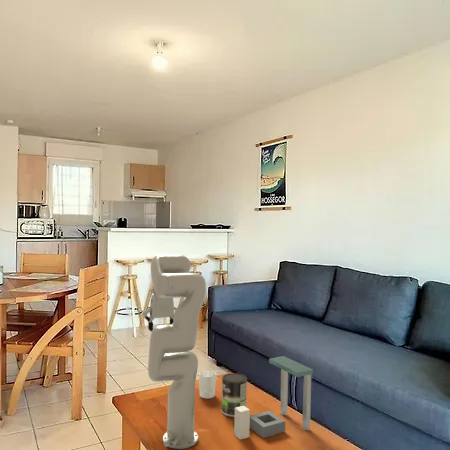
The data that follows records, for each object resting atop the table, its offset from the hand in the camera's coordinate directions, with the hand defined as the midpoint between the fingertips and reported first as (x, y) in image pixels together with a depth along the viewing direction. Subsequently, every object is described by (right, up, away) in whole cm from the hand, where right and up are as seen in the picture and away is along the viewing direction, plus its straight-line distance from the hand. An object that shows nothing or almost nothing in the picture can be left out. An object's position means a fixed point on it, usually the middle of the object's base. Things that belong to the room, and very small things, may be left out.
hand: (161, 329), depth 191 cm
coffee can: (+32, -31, -14) cm, 46 cm away
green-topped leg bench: (+53, -31, -23) cm, 66 cm away
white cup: (+20, -30, +2) cm, 36 cm away
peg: (+34, -31, -34) cm, 57 cm away
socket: (+44, -31, -29) cm, 61 cm away
